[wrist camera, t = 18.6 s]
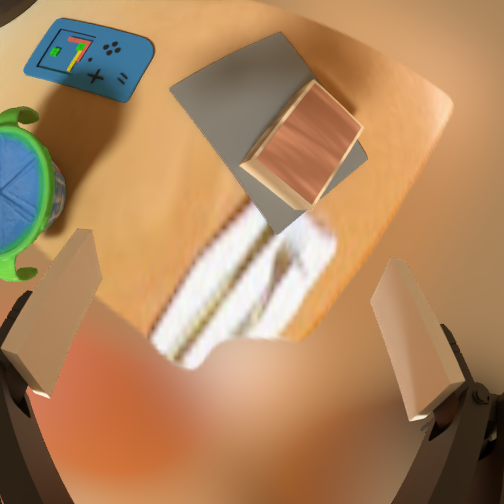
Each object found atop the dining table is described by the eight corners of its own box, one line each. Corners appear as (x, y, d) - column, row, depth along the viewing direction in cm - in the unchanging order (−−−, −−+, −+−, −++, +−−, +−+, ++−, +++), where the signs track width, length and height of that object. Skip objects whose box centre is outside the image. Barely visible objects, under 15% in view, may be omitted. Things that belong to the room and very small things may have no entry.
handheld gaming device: (126, 101, 27) (20, 71, 22) (127, 105, 28) (23, 75, 23) (161, 41, 27) (56, 16, 22) (160, 46, 28) (58, 20, 23)
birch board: (312, 210, 30) (365, 127, 31) (250, 159, 28) (314, 78, 28) (294, 209, 34) (344, 134, 35) (238, 165, 32) (297, 90, 32)
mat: (169, 90, 29) (169, 88, 28) (278, 33, 31) (280, 31, 30) (275, 234, 34) (277, 234, 34) (365, 159, 37) (368, 158, 36)
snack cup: (77, 272, 28) (46, 299, 19) (-3, 264, 25) (-50, 285, 15) (92, 124, 27) (68, 90, 17) (11, 125, 23) (-32, 99, 14)
